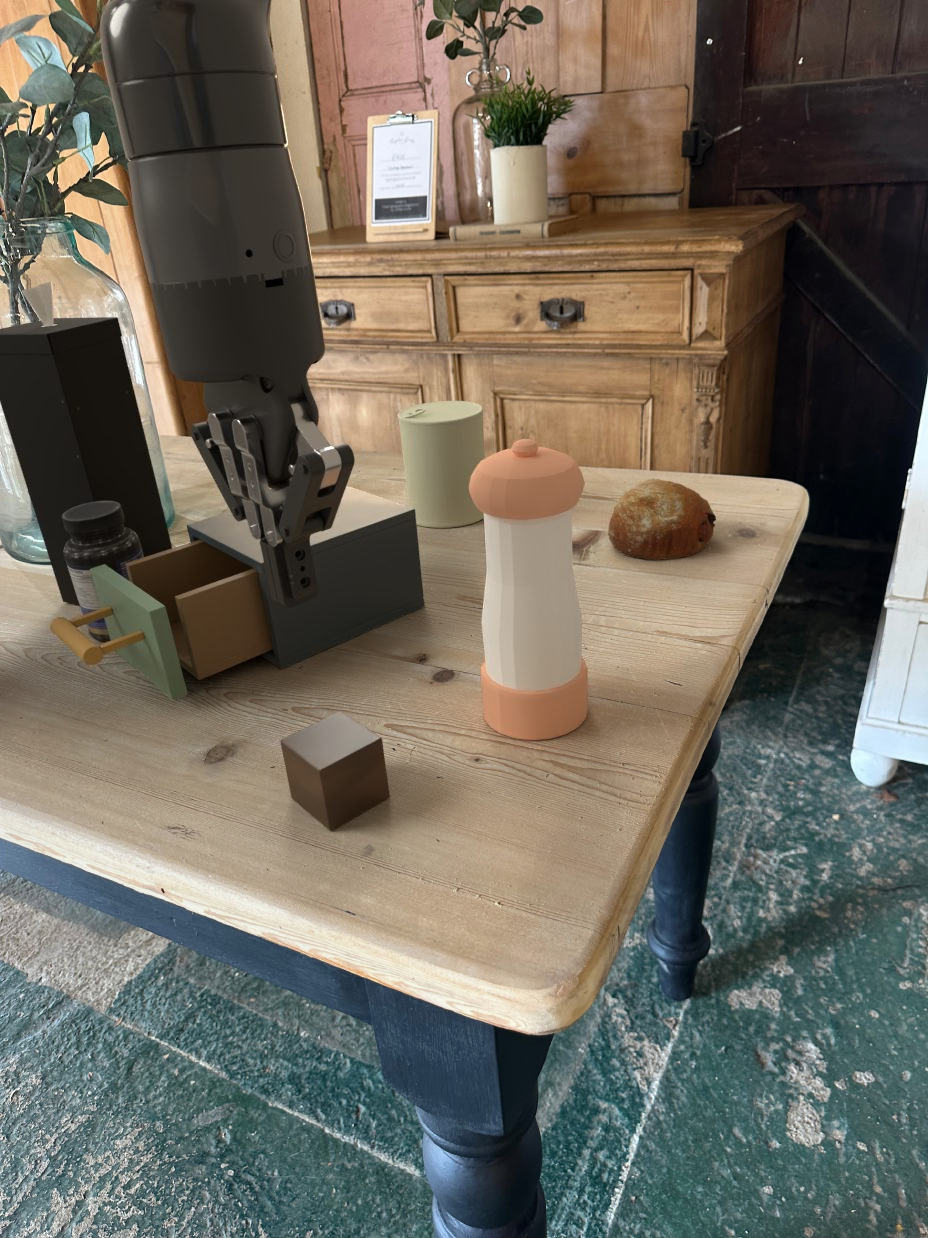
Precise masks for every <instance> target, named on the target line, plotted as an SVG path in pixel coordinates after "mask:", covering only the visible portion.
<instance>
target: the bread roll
mask: <svg viewBox="0 0 928 1238" xmlns="http://www.w3.org/2000/svg"><path fill="white" fill-rule="evenodd" d="M713 511H714V510H713V509H712V507H711V506H710V503H709V500H707V499H705V498H703V497H702V496H701V495H700V493H699V492H696V491H695V490H693V489H691V488H689V487H687V486H685V485H683V484H682V483H678V482H673V481H671V480H663V479H658V478H648V479H644V480H642V481H640V482H637V483H636V484H634V485H632V486H631V487H629V488H628V489H627V490H625V491H624V492H623V494H622V495H620V497H619V499H618V501H617V502H616V503H615V505H614V507H613V511H612V515H611V517H610V519H609V523H608V529H607V530H608V533H607V536H608V540H609V541H610V542H611V544H612V546H613V548H614V549H615V550H616V551H617V552H619V553H620V554H622V555H624V556H627V557H631V558H632V557H633V558H636V559H643V560H650V561H651V560H654V561H658V560H669V559H670V560H671V559H679V558H685V557H689V556H692V555H696V554H697V553H699V552H702V551H703V550H704V549H705V548H706V547H707V545H708V544H709V543H710V542H711V540H712V537H713V534H714V528H715V527H716V524H715V522H716V520H717V516H716V515H715V513H714V512H713Z"/></svg>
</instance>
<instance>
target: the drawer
mask: <svg viewBox="0 0 928 1238" xmlns="http://www.w3.org/2000/svg"><path fill="white" fill-rule="evenodd" d="M125 565H126V569H127V573H128V577H129V580H130V582H129V581H128V580H127V579H125V578H124V577H122V576H121V575H119V574H118V573H116V572H115V571H113V570H112V569H111V568H109V567H108V566H106V565H105V564H104V565H101V566H98V567H94V568H91V569H90V571H91V575H92V578H93V582H94V585H95V588H96V592H97V595H98V599H99V602H100V606H101V609H99V610H96V611H93V612H90V613H87V614H85V615H83V614H82V615H79V616H76V617H72V618H71V619H68V618H66V617H64V616H58V617H55V618H53V620H52V621H51V622H50V625H49V629H50V631H51V632H52V633H53V635H54V636H56V637H57V638H58V639H59V640H60V641H61V642H62V643H63V644H64V645H65V646H67V647H68V649H70V650H71V651H72V652H73V653H74V654H75V655H76V656H77V657H78V659H80V660H81V661H82V662H83V663H84V664H86V665H87V666H96V665H98V664H100V663H101V662H102V660H103V659H104V655H106V654H110V653H113V652H115V653H116V654H117V655H119V656H120V657H121V658H122V659H123V660H125V661H126V662H127V663H128V664H129V665H130V666H132V667H133V668H134V669H135V670H136V671H137V672H139V673H140V674H141V675H142V676H143V677H144V678H146V679H147V680H148V681H149V682H150V683H152V685H154V686H155V687H156V688H157V689H158V690H159V691H161V692H162V693H163V694H164V695H165V696H166V697H168V698H169V700H171V701H176V700H178V699H180V698H182V697H185V696H187V695H188V691H187V686H186V683H185V678H184V674H183V671H182V668H183V669H184V670H186V671H187V672H188V673H189V674H190V675H192V676H193V677H194V678H196V679H197V681H202V680H204V679H205V678H209V677H211V676H213V675H215V674H218V673H220V672H222V671H225V670H228V669H230V668H232V667H235V666H236V665H239V664H242V663H243V662H246V661H249V660H251V659H253V658H256V657H258V656H261V654H263V653H265V652H268V651H270V650H272V649H273V645H272V640H271V635H270V630H269V625H268V620H267V615H266V609H265V604H264V599H263V594H262V589H261V584H260V579H259V574H258V570H256V569H255V568H253V567H251V566H249V565H247V564H245V563H243V562H241V561H239V560H238V559H236V558H234V557H232V556H230V555H228V554H226V553H224V552H222V551H221V550H219V549H217V548H215V547H213V546H211V545H209V544H207V543H205V542H204V541H202V540H197V541H194V542H188V543H184V544H182V545H179V546H176V547H172V549H169V550H166V551H163V552H160V553H157V554H153V555H150V556H147V557H144V558H141V559H138V560H135V561H132V562H129V563H126V564H125ZM102 618H104V619H105V623H106V626H107V630H108V633H109V636H110V640H111V641H105V642H104V643H101V644H98V645H97V643H95V642H94V641H93V640H92V639H90V638H89V637H88V636H87V635H86V634H85V633H84V632H83V631H81V630H80V629H79V628H80V627H82V626H83V627H84V626H86V624H88V623H91V622H94V621H97V620H100V619H102Z"/></svg>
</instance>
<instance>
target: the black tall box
mask: <svg viewBox="0 0 928 1238" xmlns="http://www.w3.org/2000/svg"><path fill="white" fill-rule="evenodd" d="M53 291H54V289H53V281H49V282H44V283H40V284H37V285H36V286H34V287H29V288H26V289H22V290H21V293H22V295H23V297H25V299H26V300H27V303H28V304H29V305H30V307H31V308H32V310H33V311H34V313H35V314H36V316H37V317H38V319H39V320H35V321H31V322H30V321H29V322H26V323H21V324H17V325H11V326H7V327H2V328H0V406H1V410H2V412H3V416H4V419H5V422H6V425H7V429H8V432H9V436H10V438H11V442H12V444H13V447H14V451H15V454H16V456H17V460H18V463H19V466H20V470H21V473H22V476H23V480H24V482H25V485H26V489H27V492H28V495H29V499H30V502H31V504H32V508H33V511H34V514H35V517H36V521H37V524H38V528H39V531H40V533H41V537H42V539H43V543H44V546H45V549H46V553H47V555H48V559H49V563H50V565H51V569H52V571H53V575H54V577H55V581H56V584H57V587H58V591H59V593H60V597H61V600H62V602H63V603H68V604H72V605H77V606H80V604H79V601H78V598H77V595H76V592H75V589H74V585H73V582H72V579H71V576H70V573H69V570H68V567H67V563H66V560H65V558H64V547H65V545H66V543H67V542H68V541H69V539H71V536H70V534H69V533H68V532H67V531H66V530H65V527H64V523H63V520H62V515H63V513H64V512H66V511H67V510H69V509H71V508H73V507H76V506H79V505H82V504H86V503H90V502H97V501H115V502H118V503H120V505H121V507H122V510H123V514H124V519H125V520H124V522H123V524H124V527H127V528H129V529H131V530H133V531H134V532H135V533H136V534H137V536H138V537H139V540H140V544H141V547H142V551H143V555H144V557H147V556H150V555H153V554H157V553H160V552H163V551H166V550H169V549H172V548H173V545H172V541H171V536H170V532H169V528H168V525H167V524H168V523H167V520H166V516H165V511H164V508H163V507H164V506H163V504H162V499H161V496H160V495H161V494H160V491H159V487H158V483H157V478H156V475H155V474H156V473H155V470H154V466H153V462H152V458H151V454H150V451H149V446H148V442H147V438H146V433H145V429H144V427H143V426H144V425H143V421H142V418H141V414H140V408H139V405H138V401H137V397H136V396H137V395H136V393H135V389H134V384H133V379H132V377H131V372H130V368H129V363H128V359H127V355H126V351H125V348H124V343H123V339H122V337H123V333H122V329H121V324H120V322H119V317H118V316H107V317H106V316H104V317H99V316H98V317H54V292H53Z"/></svg>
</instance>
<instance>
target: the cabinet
mask: <svg viewBox="0 0 928 1238" xmlns="http://www.w3.org/2000/svg"><path fill="white" fill-rule="evenodd" d="M186 529H187V533H188V538H189V543H191V542H194V541H197V540H202V541H204V542H205V543H207V544H209V545H211V546H213V547H215V548H217V549H219V550H221V551H222V552H224V553H226V554H228V555H230V556H232V557H234V558H236V559H238V560H239V561H241V562H243V563H245V564H247V565H249V566H251V567H253V568H255V569H256V570H258V574H259V579H260V584H261V589H262V594H263V599H264V604H265V609H266V615H267V620H268V625H269V630H270V635H271V640H272V645H273V649H272V650H270V651H268V652H265V653H263V654H261V655H260V656H261V657H262V658H264V659H265V660H266V661H268V662H269V663H270V664H272V665H274V666H276V667H277V668H279V669H281V670H283V669H285V668H288V667H290V666H292V665H294V664H296V663H299V662H301V661H303V660H306V659H308V658H310V657H313V656H316V655H317V654H320V653H322V652H324V651H326V650H328V649H331V648H333V647H336V646H337V645H340V644H343V643H345V642H347V641H350V640H352V639H354V638H356V637H359V636H361V635H363V634H365V633H367V632H370V631H372V630H374V629H376V628H379V627H381V626H384V625H385V624H388V623H390V622H392V621H395V620H397V619H399V618H401V617H404V616H406V615H408V614H411V613H413V612H415V611H418V610H420V609H422V608H424V607H425V606H426V603H425V595H424V594H425V593H424V585H423V575H422V574H423V573H422V566H421V565H422V564H421V555H420V545H419V535H418V525H417V524H416V513H415V509H414V508H411V507H408V505H405V504H402V503H399V502H396V501H394V500H390V499H387V498H384V497H381V496H378V495H376V494H373V493H371V492H368V491H364V490H361V489H358V488H356V487H352V486H349V485H347V486H346V489H345V491H344V494H343V497H342V500H341V503H340V505H339V508H338V511H337V514H336V517H335V519H334V522H333V525H332V527H331V528H330V529H328V530H325V531H320V532H317V533H314V534H311V536H310V545H311V551H312V556H313V562H314V567H315V573H316V578H317V584H318V594H317V596H316V597H315V598H314V599H312V600H309V601H307V602H305V603H302V604H300V605H297V606H295V607H292V608H290V607H287V606H285V605H283V604H281V603H279V602H277V601H275V600H274V599H273V598H272V597H271V594H270V589H269V584H268V579H267V575H266V570H265V565H264V560H263V556H262V551H261V546H260V539H259V540H256V539H255V538H254V537H253V536H252V534H251V532H250V529H249V526H248V522H247V520H246V519H245V520H242V521H237V520H236V519H235V518H234V517H233V515H232V513H231V511H230V510H229V511H226V512H223V513H220V514H217V515H213V516H210V517H207V518H204V519H201V520H196V521H195V522H191V523H187V524H186Z"/></svg>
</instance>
